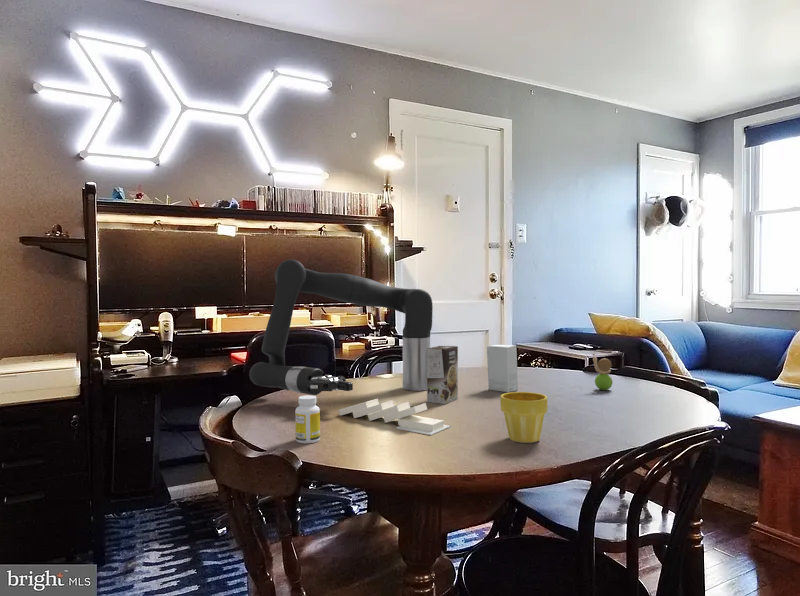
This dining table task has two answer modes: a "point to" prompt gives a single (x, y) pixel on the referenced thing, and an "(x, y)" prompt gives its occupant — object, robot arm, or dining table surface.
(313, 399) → the supplement bottle
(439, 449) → the dining table surface
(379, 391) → the dining table surface
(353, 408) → the domino
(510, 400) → the plant pot
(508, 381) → the skincare box
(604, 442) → the dining table surface
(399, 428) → the felt pad
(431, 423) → the domino
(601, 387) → the snail figurine
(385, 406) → the domino
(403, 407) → the domino
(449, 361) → the coffee box
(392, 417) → the domino
